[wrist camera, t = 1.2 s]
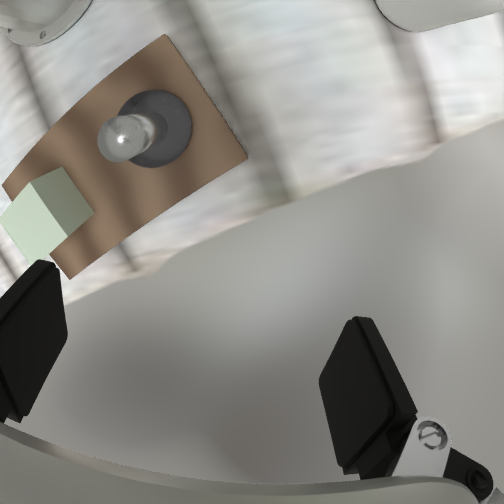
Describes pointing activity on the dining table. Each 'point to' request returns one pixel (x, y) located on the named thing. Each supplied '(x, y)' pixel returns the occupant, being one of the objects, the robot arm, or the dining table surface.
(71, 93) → the dining table surface
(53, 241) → the pale green cube
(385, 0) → the milk bottle
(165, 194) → the board
